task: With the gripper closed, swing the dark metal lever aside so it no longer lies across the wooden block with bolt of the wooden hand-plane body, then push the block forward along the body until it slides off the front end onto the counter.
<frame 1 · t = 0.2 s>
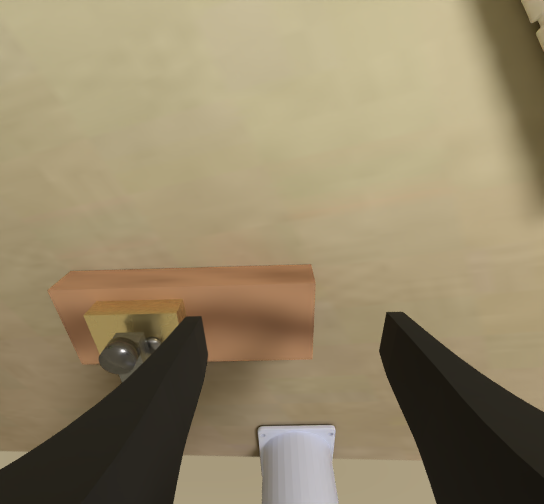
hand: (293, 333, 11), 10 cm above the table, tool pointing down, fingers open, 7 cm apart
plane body: (197, 305, 23), on the table
lever: (140, 390, 20), point 5 cm above the table, hinge at 0.0°
wooden block with bolt: (147, 328, 21), point 2 cm above the table, touching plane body
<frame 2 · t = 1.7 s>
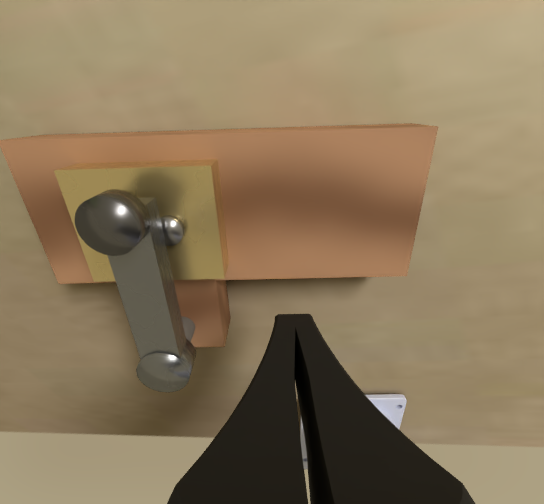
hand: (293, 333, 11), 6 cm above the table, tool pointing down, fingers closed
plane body: (231, 199, 16), on the table
lever: (147, 305, 12), point 5 cm above the table, hinge at 0.0°
wooden block with bolt: (159, 217, 13), point 2 cm above the table, touching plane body
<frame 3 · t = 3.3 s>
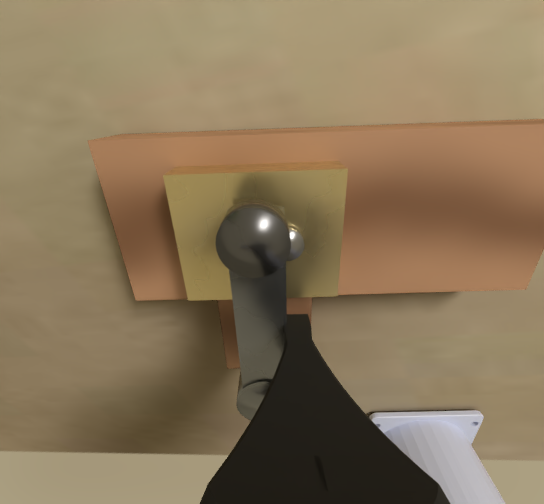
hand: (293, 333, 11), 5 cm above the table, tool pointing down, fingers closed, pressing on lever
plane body: (324, 205, 14), on the table
lever: (261, 330, 10), point 6 cm above the table, hinge at 0.0°, touching gripper
wooden block with bolt: (260, 226, 12), point 2 cm above the table, touching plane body
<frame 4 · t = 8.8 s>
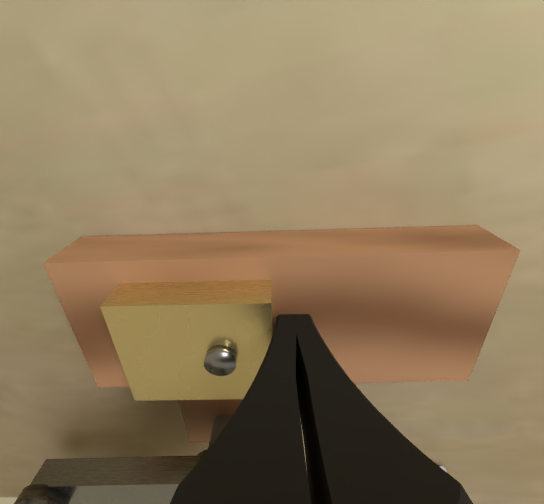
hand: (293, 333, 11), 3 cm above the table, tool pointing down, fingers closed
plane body: (278, 294, 15), on the table
lever: (134, 491, 13), point 6 cm above the table, hinge at 90.8°
wooden block with bolt: (204, 330, 13), point 3 cm above the table, touching gripper, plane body
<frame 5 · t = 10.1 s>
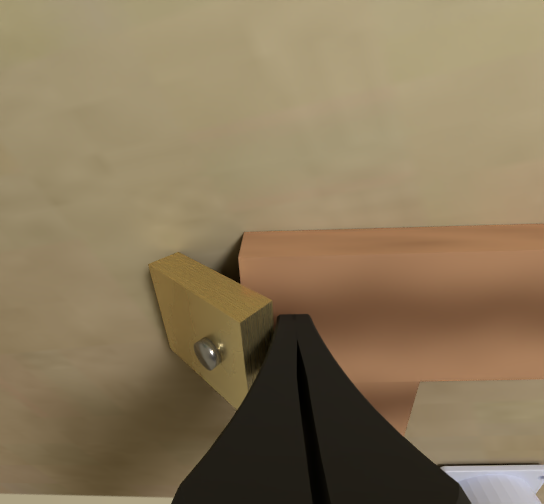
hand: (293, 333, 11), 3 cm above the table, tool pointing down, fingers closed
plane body: (427, 291, 15), on the table
wooden block with bolt: (224, 320, 13), point 2 cm above the table, tilted 42°, touching gripper
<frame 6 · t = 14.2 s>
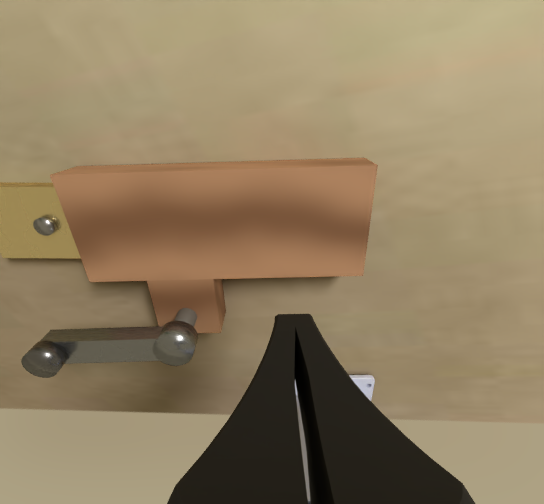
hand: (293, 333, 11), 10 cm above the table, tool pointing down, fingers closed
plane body: (225, 215, 20), on the table
lever: (114, 349, 18), point 5 cm above the table, hinge at 90.8°
wooden block with bolt: (48, 216, 20), on the table
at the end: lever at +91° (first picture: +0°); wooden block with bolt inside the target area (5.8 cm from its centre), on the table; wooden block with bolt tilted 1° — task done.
